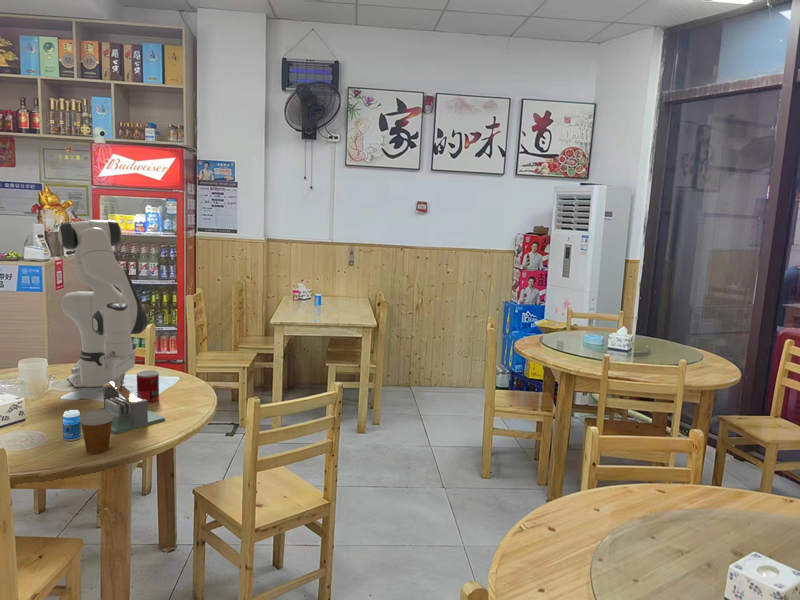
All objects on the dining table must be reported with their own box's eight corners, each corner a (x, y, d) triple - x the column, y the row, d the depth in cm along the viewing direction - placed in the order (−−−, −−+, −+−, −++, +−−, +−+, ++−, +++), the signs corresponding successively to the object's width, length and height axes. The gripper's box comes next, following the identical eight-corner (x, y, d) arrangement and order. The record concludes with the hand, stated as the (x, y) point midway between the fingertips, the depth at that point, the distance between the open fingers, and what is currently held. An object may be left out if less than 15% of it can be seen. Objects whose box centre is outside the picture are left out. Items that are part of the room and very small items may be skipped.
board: (82, 415, 212) (81, 387, 211) (130, 404, 226) (130, 377, 225) (115, 433, 198) (114, 403, 196) (165, 420, 212) (164, 391, 210)
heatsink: (104, 416, 210) (103, 399, 210) (131, 409, 218) (131, 393, 217) (118, 423, 204) (117, 406, 204) (145, 416, 212) (145, 400, 211)
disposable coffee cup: (111, 455, 181) (110, 418, 180) (77, 457, 179) (75, 420, 177) (117, 443, 190) (116, 407, 189) (84, 445, 188) (82, 409, 186)
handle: (109, 386, 213) (109, 382, 213) (117, 384, 216) (118, 380, 215) (132, 408, 204) (133, 404, 204) (141, 406, 207) (141, 402, 206)
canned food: (154, 403, 228) (153, 376, 226) (133, 402, 228) (132, 375, 226) (162, 397, 236) (161, 371, 234) (142, 396, 236) (142, 369, 234)
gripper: (115, 356, 199) (115, 395, 201) (138, 342, 219) (138, 378, 221) (95, 355, 199) (96, 395, 201) (120, 342, 219) (121, 378, 221)
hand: (119, 386), depth 211 cm, fingers closed
